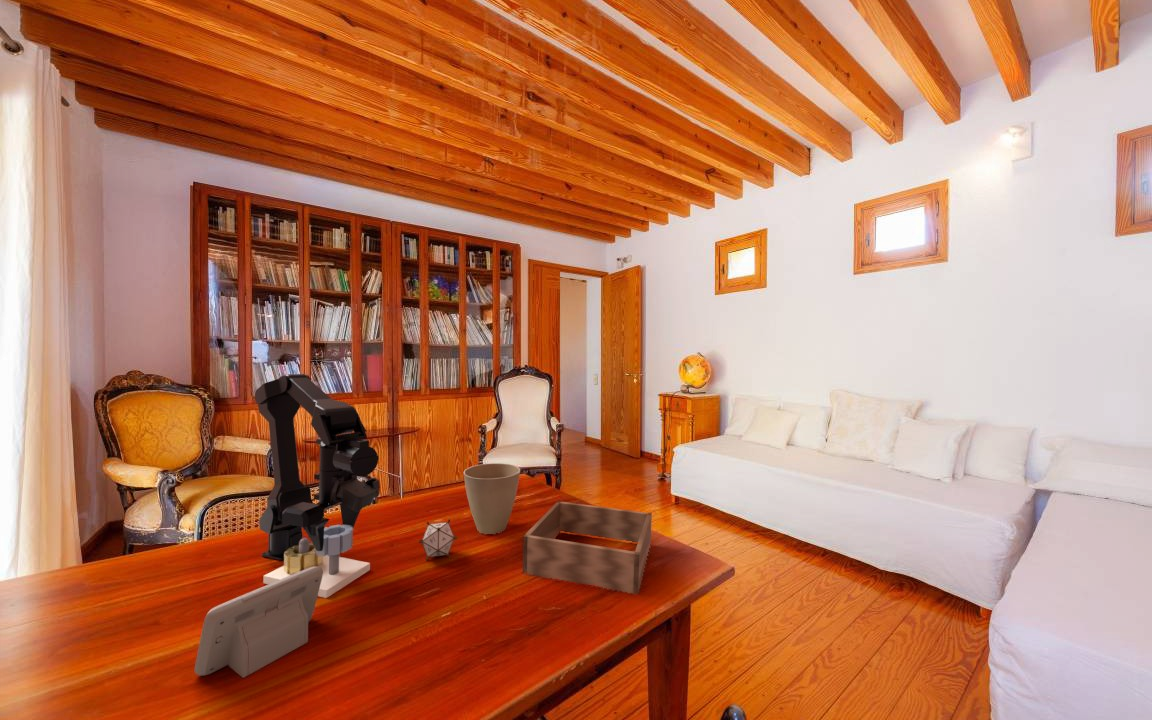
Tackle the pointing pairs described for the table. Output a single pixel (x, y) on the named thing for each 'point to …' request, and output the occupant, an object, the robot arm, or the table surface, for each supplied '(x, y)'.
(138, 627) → the table surface
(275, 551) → the robot arm
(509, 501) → the plant pot
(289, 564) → the brass gear
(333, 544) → the slate gear
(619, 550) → the open rectangular box frame
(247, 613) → the digital clock
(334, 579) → the gear board
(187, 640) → the table surface
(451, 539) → the game die
